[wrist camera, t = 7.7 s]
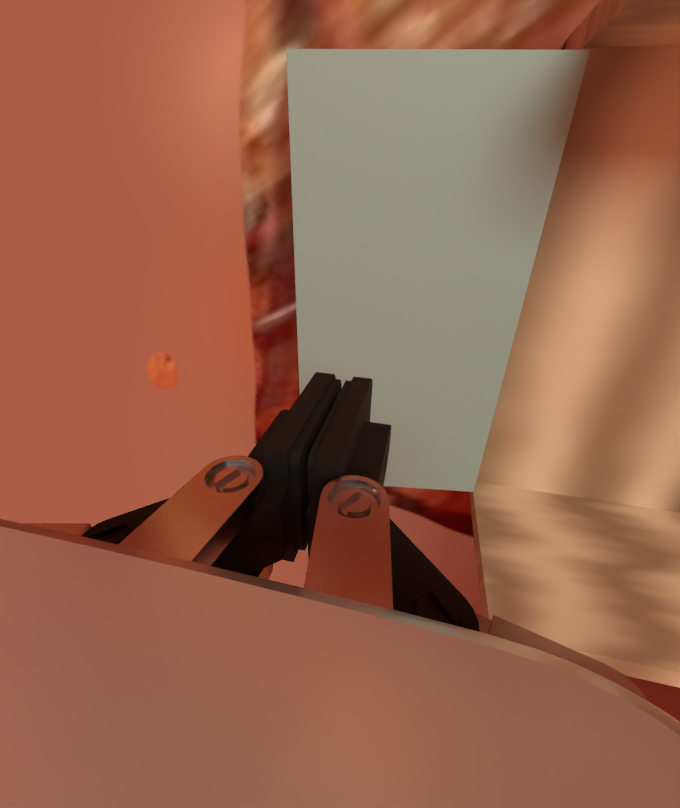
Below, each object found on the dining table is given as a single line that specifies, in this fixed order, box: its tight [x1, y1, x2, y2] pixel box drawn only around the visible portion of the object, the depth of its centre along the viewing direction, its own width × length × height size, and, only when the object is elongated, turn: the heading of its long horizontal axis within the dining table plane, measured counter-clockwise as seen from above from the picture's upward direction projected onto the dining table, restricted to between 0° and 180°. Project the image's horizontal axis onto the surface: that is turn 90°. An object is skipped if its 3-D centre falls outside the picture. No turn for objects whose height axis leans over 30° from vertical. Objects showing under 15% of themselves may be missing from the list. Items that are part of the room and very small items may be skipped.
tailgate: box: [286, 49, 590, 492], centre depth 20 cm, size 2×21×11 cm
